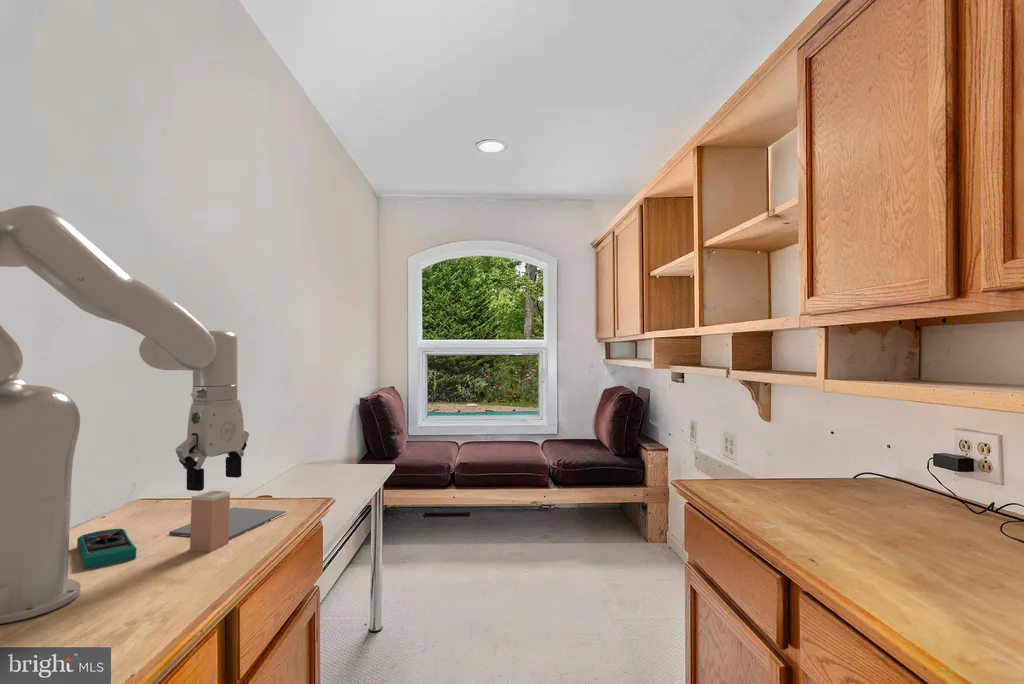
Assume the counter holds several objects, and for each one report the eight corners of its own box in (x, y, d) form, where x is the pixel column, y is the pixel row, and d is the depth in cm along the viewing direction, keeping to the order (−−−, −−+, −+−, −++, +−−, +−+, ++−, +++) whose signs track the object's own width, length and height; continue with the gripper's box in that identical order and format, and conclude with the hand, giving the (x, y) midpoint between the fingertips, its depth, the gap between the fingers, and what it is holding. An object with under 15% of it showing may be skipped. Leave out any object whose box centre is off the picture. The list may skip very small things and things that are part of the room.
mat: (229, 540, 102) (229, 536, 102) (169, 534, 105) (169, 531, 105) (285, 513, 120) (286, 511, 120) (233, 509, 123) (233, 507, 123)
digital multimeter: (124, 540, 103) (124, 525, 103) (136, 561, 92) (137, 544, 92) (76, 549, 98) (76, 533, 98) (83, 573, 87) (84, 555, 87)
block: (210, 552, 96) (212, 497, 96) (189, 550, 97) (191, 496, 97) (228, 543, 101) (230, 491, 101) (208, 541, 101) (210, 490, 102)
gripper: (196, 399, 91) (196, 497, 91) (262, 391, 108) (262, 473, 108) (160, 398, 92) (160, 495, 92) (231, 390, 109) (230, 471, 109)
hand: (215, 483), depth 100 cm, fingers open, 9 cm apart
